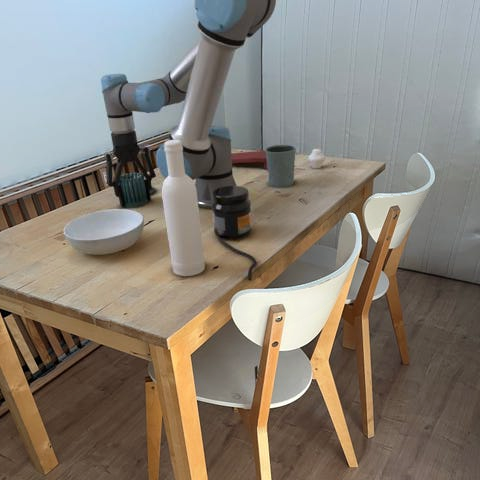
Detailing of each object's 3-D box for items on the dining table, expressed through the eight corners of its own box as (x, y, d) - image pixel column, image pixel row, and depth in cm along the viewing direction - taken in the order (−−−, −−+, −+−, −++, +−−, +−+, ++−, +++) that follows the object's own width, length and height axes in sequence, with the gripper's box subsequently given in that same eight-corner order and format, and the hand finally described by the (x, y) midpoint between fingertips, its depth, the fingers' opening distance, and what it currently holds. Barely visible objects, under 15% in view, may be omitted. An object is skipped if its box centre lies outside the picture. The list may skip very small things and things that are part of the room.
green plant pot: (301, 183, 168) (301, 148, 161) (278, 190, 163) (277, 153, 157) (283, 177, 175) (282, 142, 168) (260, 183, 171) (259, 148, 164)
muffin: (306, 165, 185) (307, 147, 182) (322, 164, 186) (323, 145, 182) (310, 170, 180) (310, 151, 176) (326, 169, 181) (327, 149, 177)
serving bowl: (82, 233, 141) (77, 210, 137) (153, 230, 140) (150, 207, 136) (58, 265, 124) (51, 240, 120) (139, 262, 123) (134, 237, 119)
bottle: (173, 263, 121) (155, 138, 105) (204, 260, 121) (191, 135, 105) (172, 278, 114) (152, 147, 98) (205, 275, 115) (191, 144, 98)
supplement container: (260, 232, 135) (258, 189, 128) (233, 244, 129) (230, 200, 122) (233, 223, 141) (230, 182, 134) (206, 234, 135) (202, 192, 128)
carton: (212, 173, 196) (266, 170, 182) (210, 161, 193) (264, 157, 180) (228, 165, 204) (281, 161, 191) (226, 153, 202) (279, 149, 189)
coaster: (160, 193, 167) (159, 192, 167) (130, 200, 163) (129, 198, 163) (149, 185, 175) (149, 184, 175) (120, 191, 171) (120, 190, 171)
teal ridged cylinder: (118, 203, 161) (141, 197, 165) (129, 209, 156) (152, 203, 160) (113, 176, 157) (136, 170, 161) (124, 181, 151) (148, 175, 155)
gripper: (151, 123, 154) (161, 193, 167) (85, 134, 147) (101, 206, 159) (159, 127, 149) (169, 199, 161) (91, 138, 141) (107, 213, 153)
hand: (135, 202), depth 160 cm, fingers closed on teal ridged cylinder, 8 cm apart
